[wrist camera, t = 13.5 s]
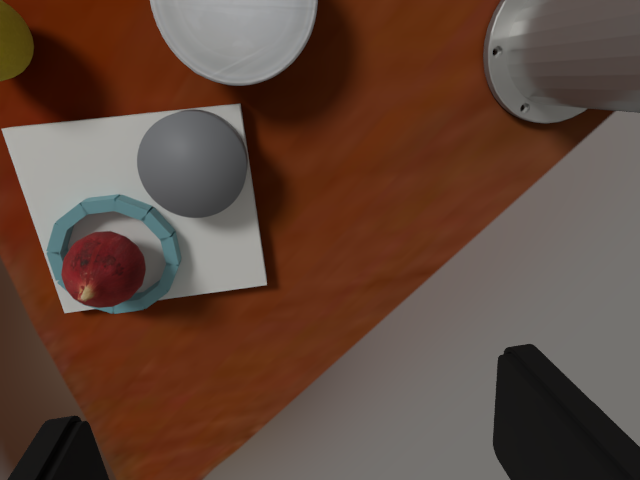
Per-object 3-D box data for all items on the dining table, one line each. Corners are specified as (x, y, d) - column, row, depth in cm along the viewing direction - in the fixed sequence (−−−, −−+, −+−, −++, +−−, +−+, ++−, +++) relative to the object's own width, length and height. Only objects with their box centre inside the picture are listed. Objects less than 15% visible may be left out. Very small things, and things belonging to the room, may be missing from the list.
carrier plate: (240, 103, 36) (237, 106, 32) (266, 278, 42) (267, 300, 37) (12, 127, 34) (-23, 133, 30) (71, 305, 40) (49, 331, 36)
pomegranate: (76, 222, 36) (27, 259, 29) (148, 217, 37) (118, 251, 29) (92, 285, 38) (50, 335, 31) (160, 279, 39) (135, 326, 31)
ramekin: (275, -105, 32) (278, -140, 27) (332, 51, 36) (343, 46, 31) (135, -42, 32) (111, -64, 27) (207, 106, 36) (198, 110, 31)
